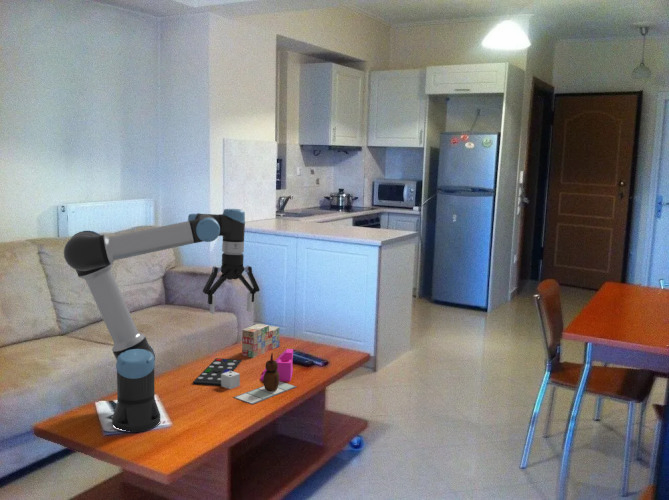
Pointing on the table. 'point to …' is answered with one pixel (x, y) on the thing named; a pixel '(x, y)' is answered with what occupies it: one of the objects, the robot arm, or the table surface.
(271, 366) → the wooden figurine
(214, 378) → the remote control
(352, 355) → the table surface
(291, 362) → the bracket
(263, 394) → the game mat
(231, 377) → the die
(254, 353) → the stack of blocks
